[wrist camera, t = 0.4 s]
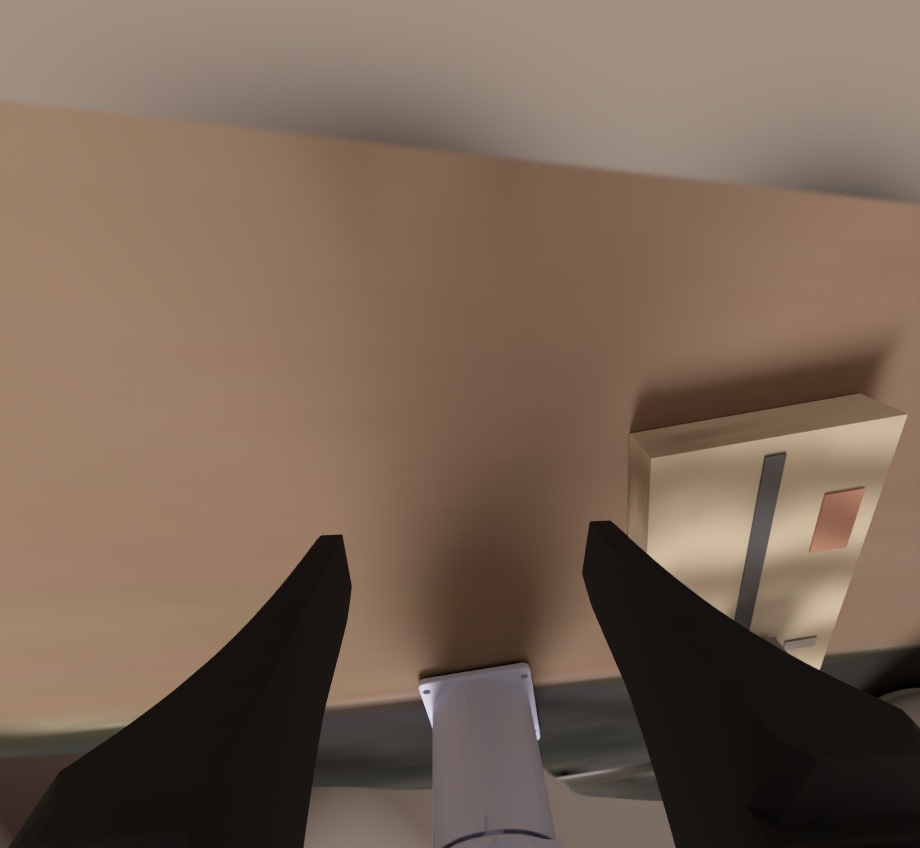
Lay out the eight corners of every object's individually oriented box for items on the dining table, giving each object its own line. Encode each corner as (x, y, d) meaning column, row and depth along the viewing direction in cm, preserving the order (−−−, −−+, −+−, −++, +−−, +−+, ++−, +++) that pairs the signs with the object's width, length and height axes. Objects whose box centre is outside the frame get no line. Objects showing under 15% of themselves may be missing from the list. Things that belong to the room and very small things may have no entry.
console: (790, 642, 31) (818, 677, 29) (626, 668, 32) (641, 705, 29) (860, 393, 22) (909, 414, 20) (629, 433, 23) (651, 459, 20)
